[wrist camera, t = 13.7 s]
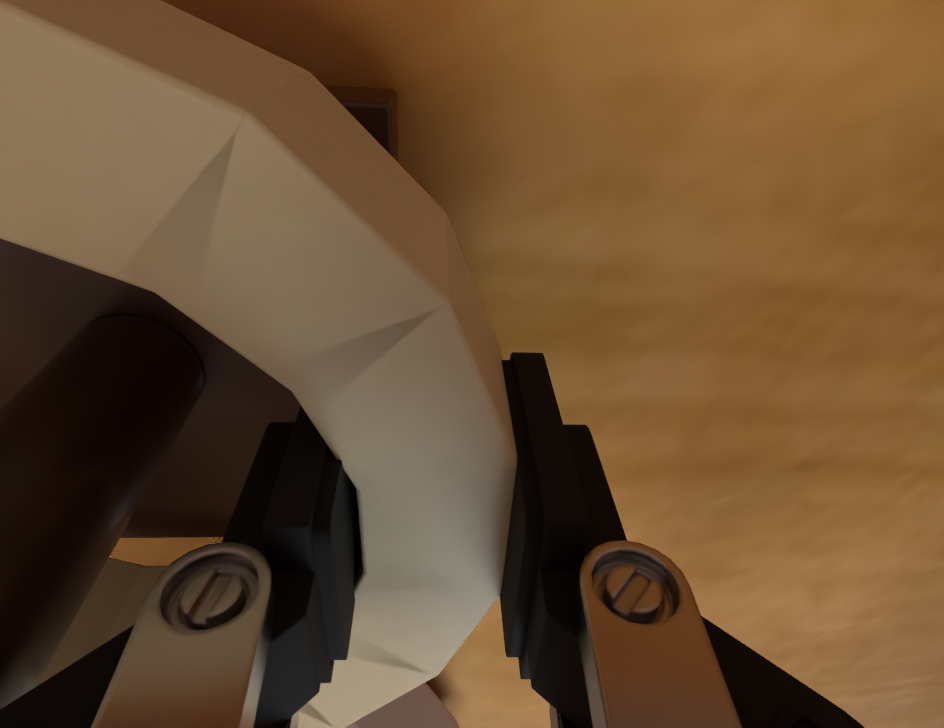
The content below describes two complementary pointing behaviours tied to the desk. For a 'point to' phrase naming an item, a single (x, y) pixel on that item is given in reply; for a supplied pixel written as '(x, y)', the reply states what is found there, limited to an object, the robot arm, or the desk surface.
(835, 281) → the desk surface
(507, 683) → the desk surface
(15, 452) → the stand
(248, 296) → the tape
